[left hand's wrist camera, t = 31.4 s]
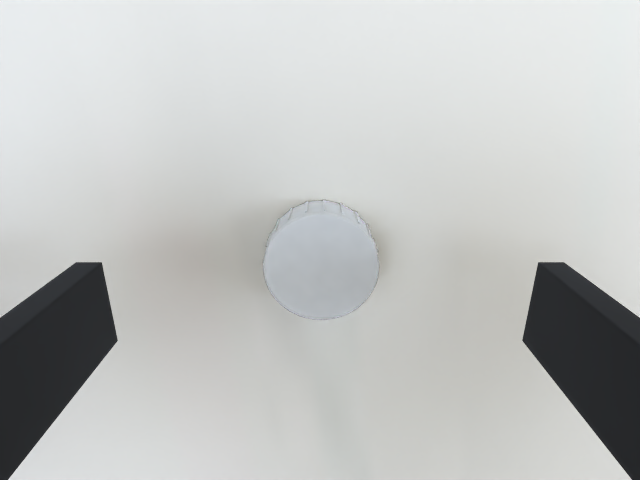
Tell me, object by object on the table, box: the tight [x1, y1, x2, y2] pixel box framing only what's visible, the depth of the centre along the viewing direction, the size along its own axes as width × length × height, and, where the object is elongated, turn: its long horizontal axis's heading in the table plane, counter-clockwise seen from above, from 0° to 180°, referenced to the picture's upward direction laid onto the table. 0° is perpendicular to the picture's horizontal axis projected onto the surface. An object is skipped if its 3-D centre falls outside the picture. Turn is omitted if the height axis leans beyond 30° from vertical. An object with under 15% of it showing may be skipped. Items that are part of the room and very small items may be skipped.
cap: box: [263, 199, 379, 320], centre depth 15 cm, size 4×4×2 cm
